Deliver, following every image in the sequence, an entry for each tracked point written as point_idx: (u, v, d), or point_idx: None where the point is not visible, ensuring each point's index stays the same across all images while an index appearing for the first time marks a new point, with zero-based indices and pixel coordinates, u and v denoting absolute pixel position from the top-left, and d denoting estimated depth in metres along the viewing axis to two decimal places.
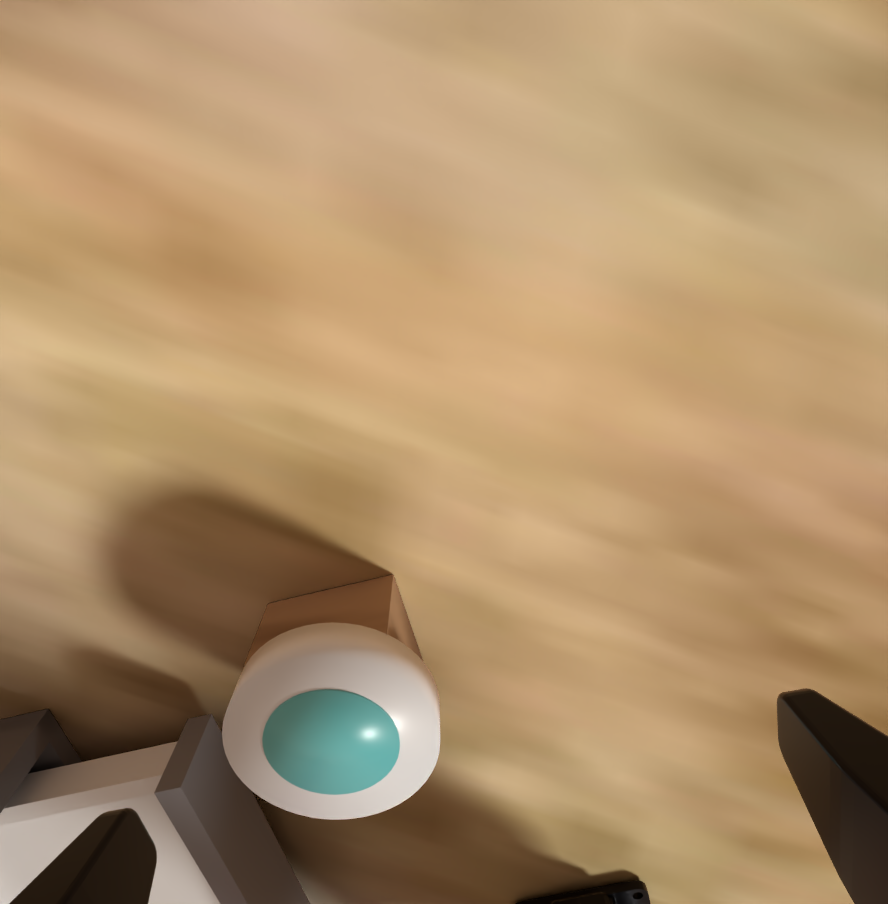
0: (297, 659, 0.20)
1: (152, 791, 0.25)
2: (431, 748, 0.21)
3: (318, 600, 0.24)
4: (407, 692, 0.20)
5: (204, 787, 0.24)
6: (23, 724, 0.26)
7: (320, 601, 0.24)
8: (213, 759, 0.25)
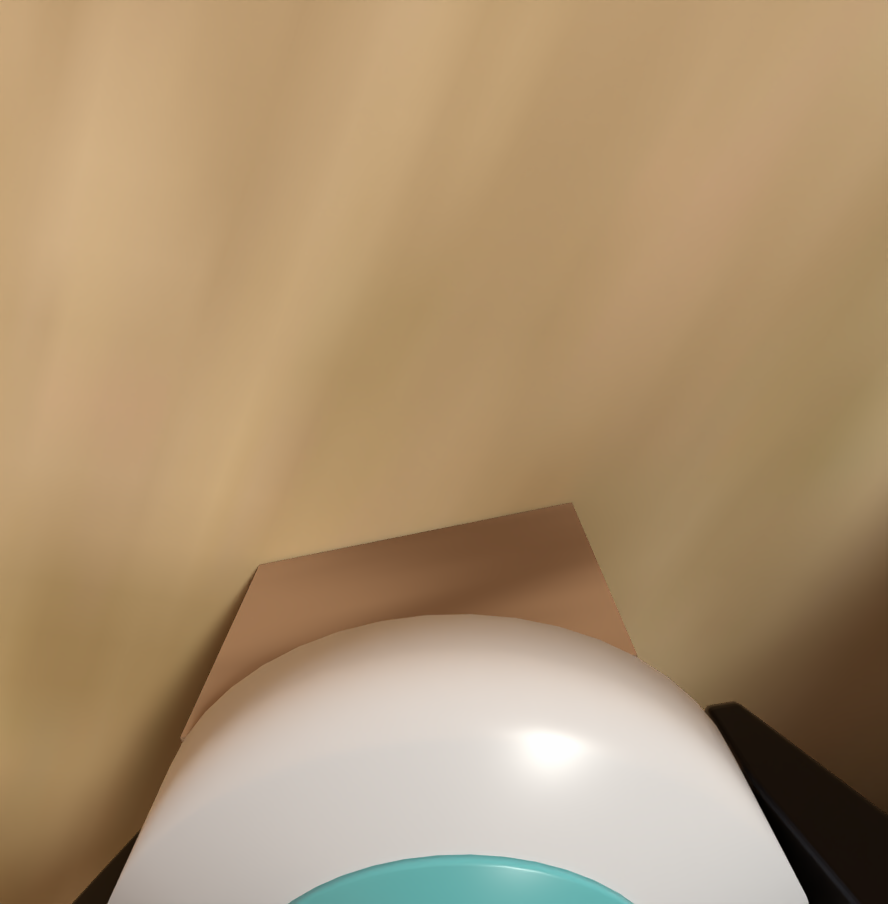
0: None
1: None
2: (513, 767, 0.05)
3: None
4: (230, 825, 0.05)
5: None
6: None
7: None
8: None
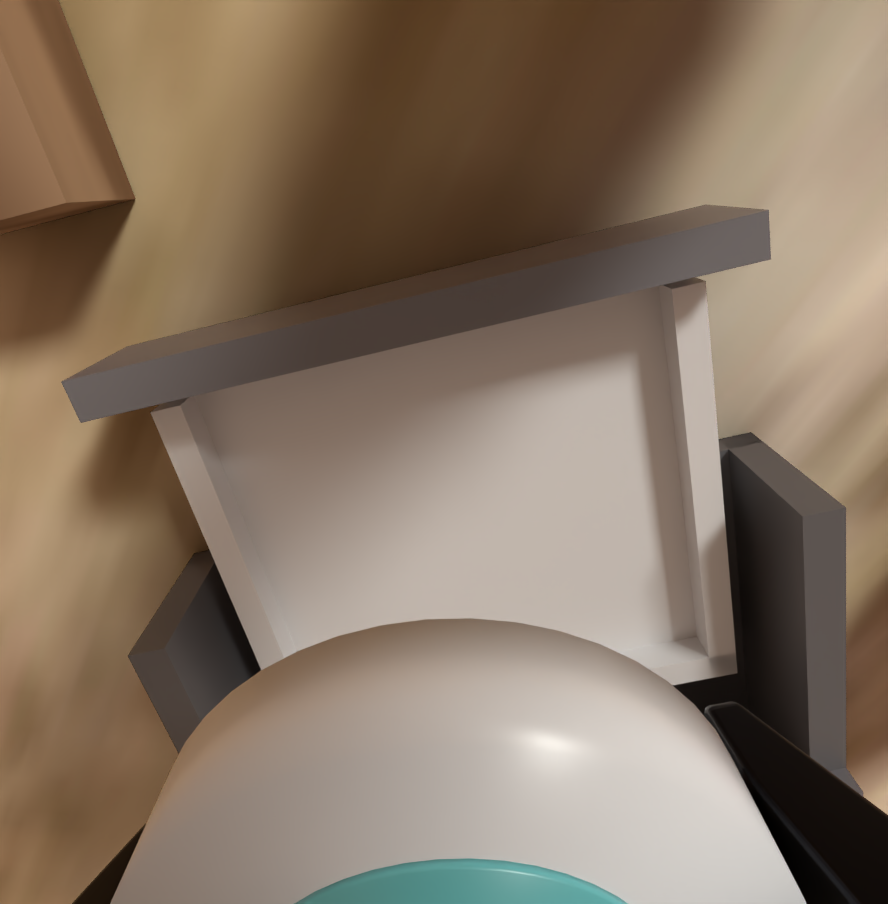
0: None
1: (189, 439, 0.17)
2: (513, 772, 0.05)
3: None
4: (231, 830, 0.05)
5: (133, 357, 0.15)
6: None
7: None
8: (149, 346, 0.17)
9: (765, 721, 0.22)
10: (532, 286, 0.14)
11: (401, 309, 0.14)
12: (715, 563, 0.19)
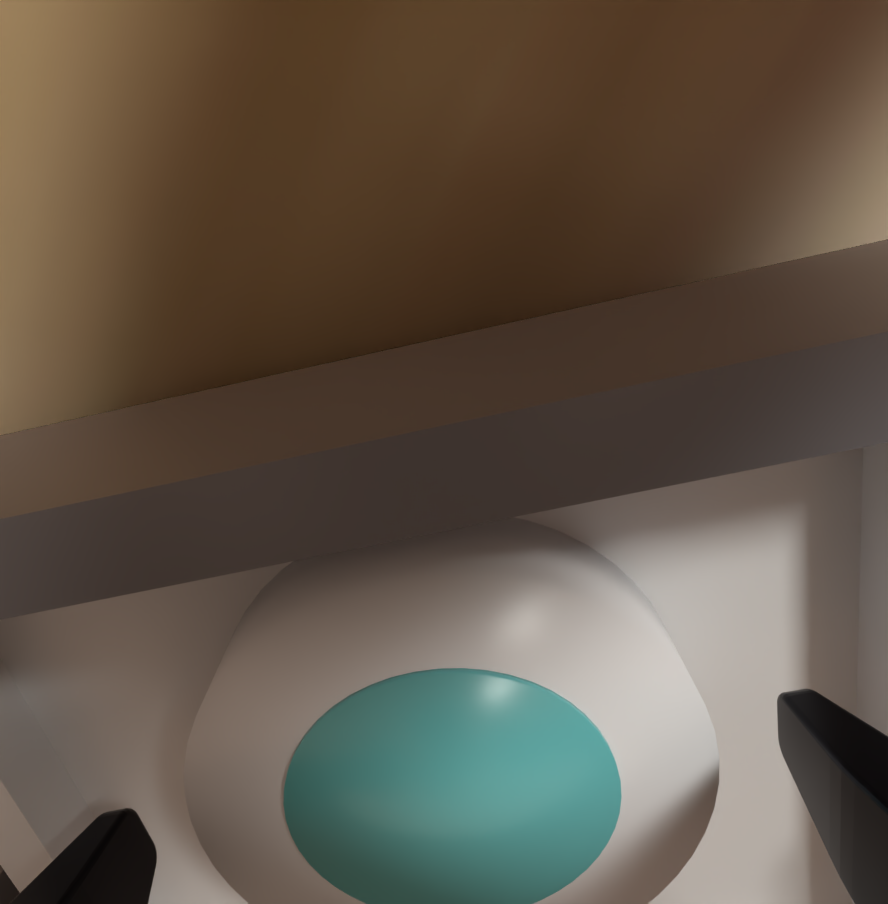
0: (208, 837, 0.09)
1: None
2: (491, 597, 0.07)
3: None
4: (291, 644, 0.08)
5: None
6: None
7: None
8: None
9: None
10: (648, 426, 0.06)
11: (324, 473, 0.06)
12: None
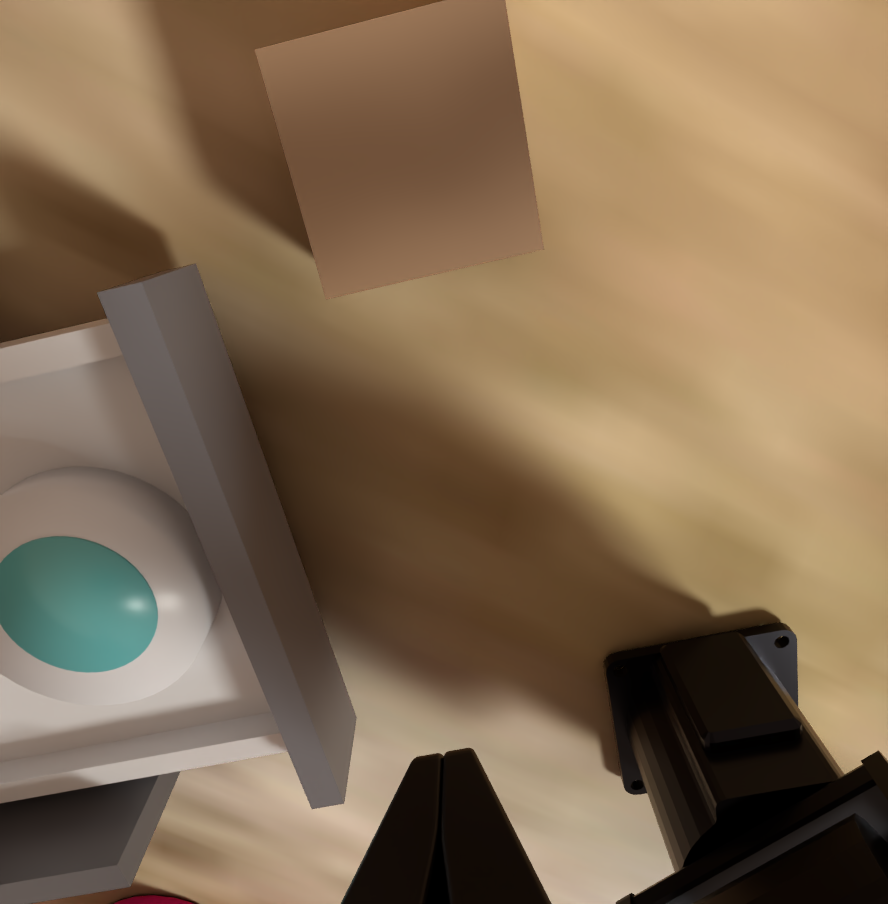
0: (23, 496, 0.17)
1: (98, 355, 0.16)
2: (195, 618, 0.18)
3: None
4: (160, 545, 0.17)
5: (180, 329, 0.15)
6: None
7: None
8: (196, 316, 0.16)
9: None
10: (280, 676, 0.18)
11: (252, 589, 0.17)
12: (60, 783, 0.21)
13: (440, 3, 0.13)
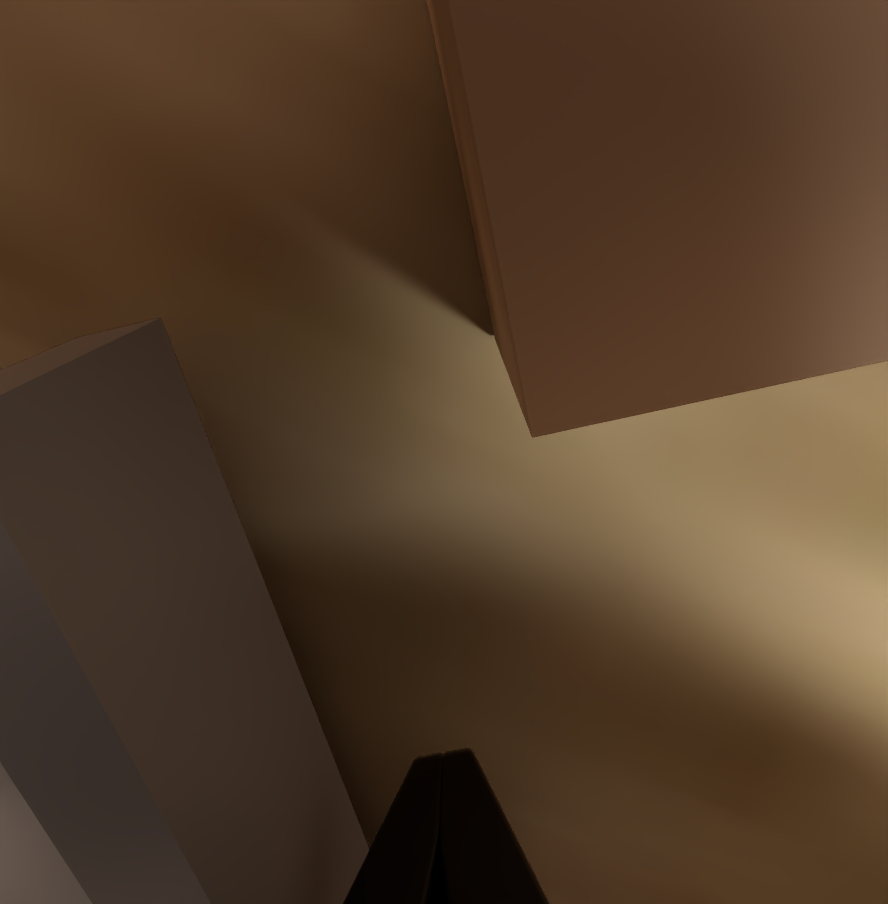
0: None
1: None
2: None
3: None
4: None
5: (107, 518, 0.05)
6: None
7: None
8: (159, 454, 0.07)
9: None
10: None
11: None
12: None
13: None
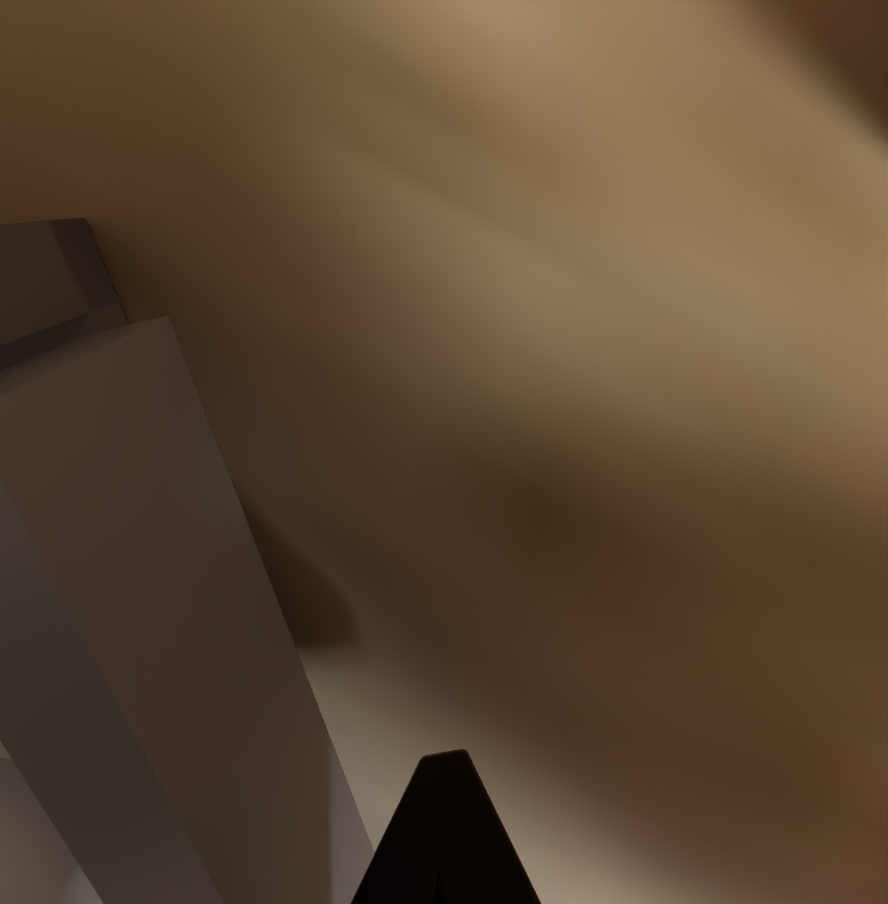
0: None
1: None
2: None
3: None
4: None
5: (119, 514, 0.05)
6: None
7: None
8: (167, 451, 0.07)
9: None
10: None
11: None
12: None
13: None
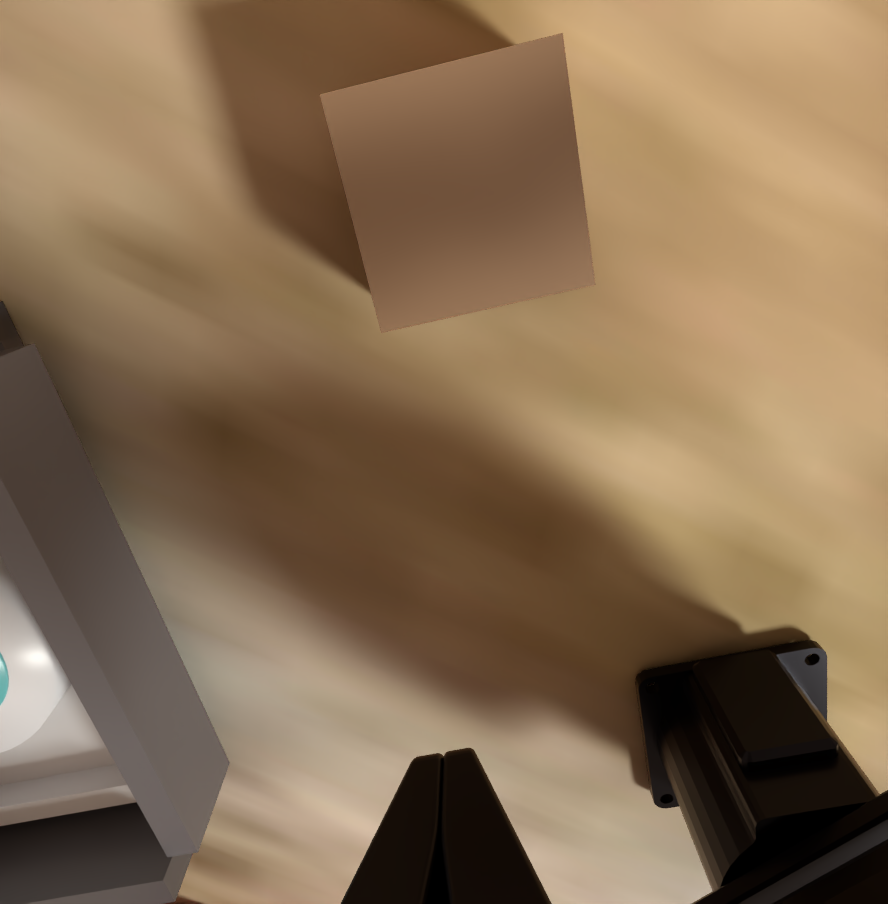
0: None
1: None
2: (45, 680, 0.19)
3: None
4: (5, 612, 0.18)
5: (2, 414, 0.16)
6: None
7: None
8: (28, 396, 0.17)
9: None
10: (122, 735, 0.19)
11: (86, 655, 0.17)
12: None
13: (501, 49, 0.13)
